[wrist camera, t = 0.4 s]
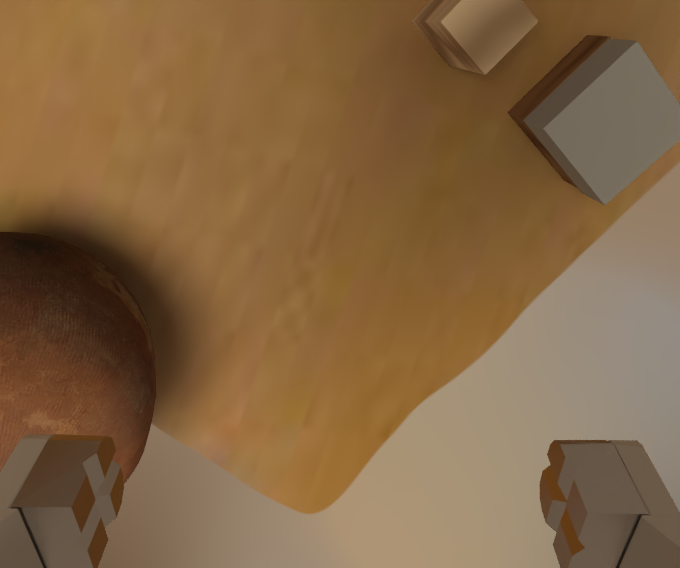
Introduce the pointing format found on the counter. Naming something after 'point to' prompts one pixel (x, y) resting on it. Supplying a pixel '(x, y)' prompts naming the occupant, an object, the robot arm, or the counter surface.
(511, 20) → the oak pillar
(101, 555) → the robot arm
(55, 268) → the pottery
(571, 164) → the slate block
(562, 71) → the walnut block
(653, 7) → the counter surface
